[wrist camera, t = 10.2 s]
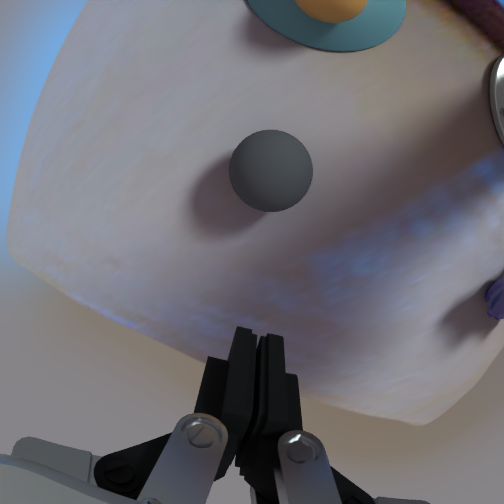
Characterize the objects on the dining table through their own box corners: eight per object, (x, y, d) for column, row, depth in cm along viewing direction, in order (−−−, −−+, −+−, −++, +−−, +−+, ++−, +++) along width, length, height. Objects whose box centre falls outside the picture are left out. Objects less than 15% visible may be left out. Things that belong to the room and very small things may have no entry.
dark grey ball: (274, 242, 21) (280, 200, 25) (333, 186, 17) (327, 152, 22) (204, 194, 19) (224, 160, 23) (256, 127, 16) (267, 105, 20)
